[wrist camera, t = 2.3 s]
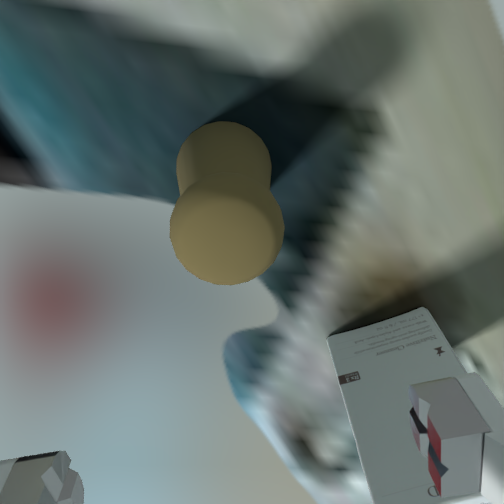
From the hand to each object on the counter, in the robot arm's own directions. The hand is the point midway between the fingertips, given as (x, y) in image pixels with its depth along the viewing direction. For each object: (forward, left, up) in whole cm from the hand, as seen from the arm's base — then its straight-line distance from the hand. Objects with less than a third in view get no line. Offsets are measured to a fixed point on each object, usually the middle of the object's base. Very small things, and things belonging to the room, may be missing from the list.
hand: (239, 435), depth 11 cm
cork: (0, 0, -21) cm, 21 cm away
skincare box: (+9, -17, -21) cm, 29 cm away
